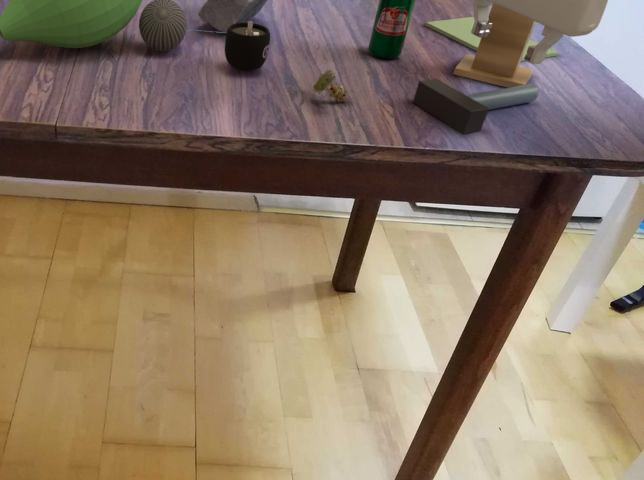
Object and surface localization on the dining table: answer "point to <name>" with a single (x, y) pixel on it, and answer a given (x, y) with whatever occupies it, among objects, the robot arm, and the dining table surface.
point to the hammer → (468, 103)
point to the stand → (500, 51)
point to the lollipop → (163, 25)
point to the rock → (229, 12)
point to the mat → (469, 33)
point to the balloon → (66, 21)
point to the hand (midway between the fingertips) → (504, 48)
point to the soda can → (390, 28)
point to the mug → (247, 46)
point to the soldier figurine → (324, 83)
